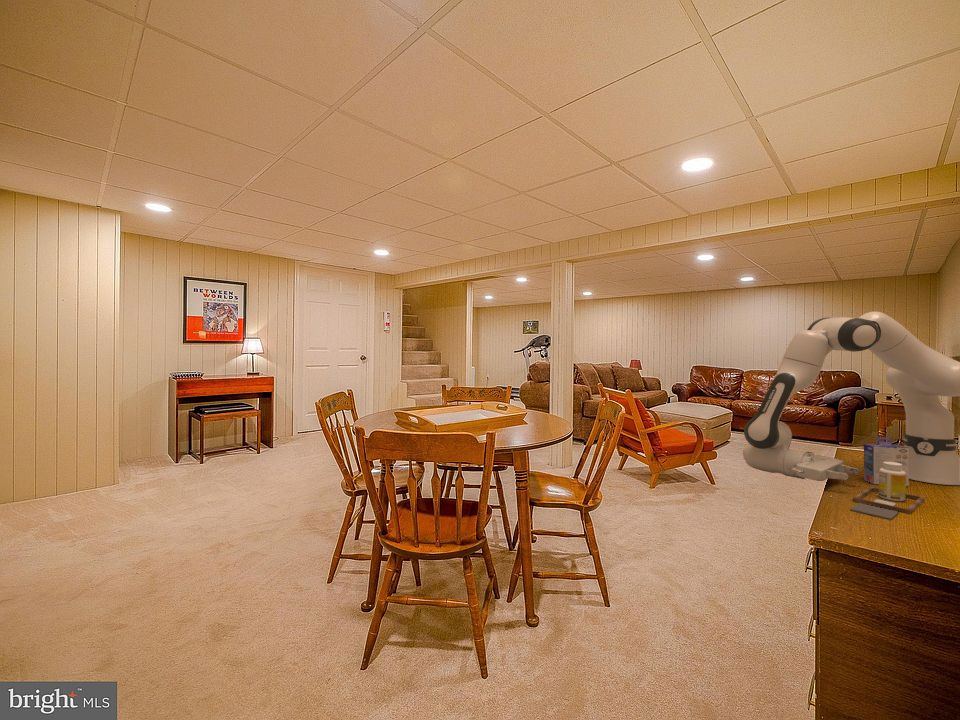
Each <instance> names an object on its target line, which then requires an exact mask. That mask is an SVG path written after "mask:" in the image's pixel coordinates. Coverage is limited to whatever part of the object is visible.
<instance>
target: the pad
mask: <svg viewBox="0 0 960 720" xmlns="http://www.w3.org/2000/svg"><path fill="white" fill-rule="evenodd" d="M849 510H850V511H851V512H854V513H855V512H856V513H859V514H863V515H868V516H871V515H872V517H875V516H877V517H876V518H880V517H881V519H884V518H885V520H888V519H889V521H892V520H893V519H894V518H895V517H896V516H898V515H899V514H900V512H898V511H894V510H889V509H885V508H880V507H876V506H871V505H867V504H862V503H858V502H857V504H856V505H853V506H852V507H850V509H849Z"/></svg>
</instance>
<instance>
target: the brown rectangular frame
mask: <svg viewBox="0 0 960 720" xmlns="http://www.w3.org/2000/svg"><path fill="white" fill-rule="evenodd" d="M872 491H873V492H875V491H876V493H879V487H873V486H869V487H868V488H866V489H864V490H863V491H862V492H859V493H858V494H856V495H855V496H853V497H852V503H853V502H855V503H857V504H858V503H863V504H866V505H867V504H868V505H873V506H875V507H876V506H877V507H882V508H884V509H885V508H886V509H890V510H893V511H899V513H904V514H908V515H912V513H913V512H915V510H916V509H917V508H918V507H919V506H920V505H922V504H923V503H924V502H925V496H919V495H915V494H910V493H906V498H907V499H911V500H914V502H913V503H911V504H910V505H909V506H908V507H907V508H905V507H901V506H900V507H899V506H897V505H895V506H892V505H887V504H883V503H878V502H874V500H873V501H872V500H870V499H864V498H865V497H867V496H868V495H869V494H872ZM864 496H865V497H864ZM861 498H862V499H861Z"/></svg>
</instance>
